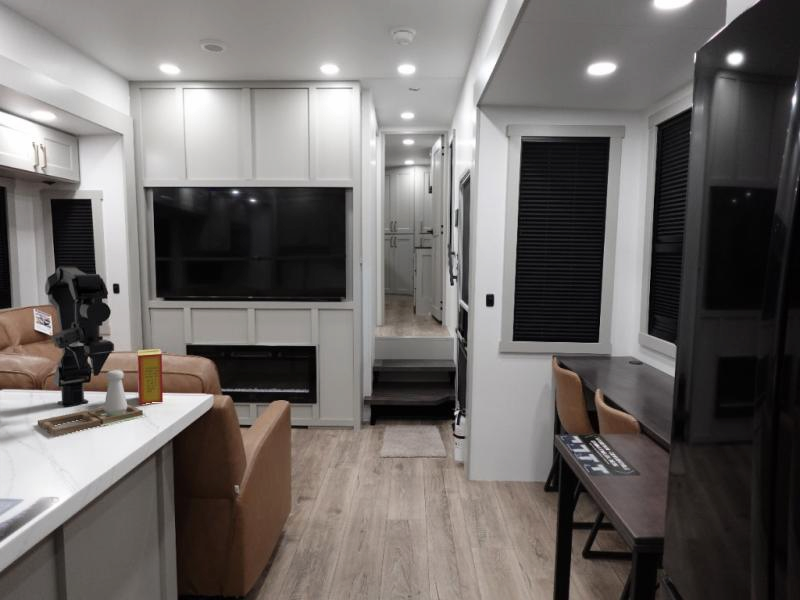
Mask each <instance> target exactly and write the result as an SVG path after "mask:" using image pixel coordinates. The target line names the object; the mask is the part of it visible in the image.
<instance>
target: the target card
mask: <svg viewBox="0 0 800 600" xmlns="http://www.w3.org/2000/svg"><path fill="white" fill-rule="evenodd" d="M125 413H129V411H126V412H125ZM145 415H147V414H145V413H144V412H143V415H141V416H137V417H133V418H128V419H124V420H120V421H116V422H111V423H107V424H101V425H100V426H103V427H105V426H104V425H107V426H110V425H109V424H111V425H114V424H113V423H116V424H119V423H118V422H120V423H123V422H122V421H124V422H127V421H126V420H128V421H131V419H132V420H135V419H134V418H137V419H139V418H138V417H141V418H143V417H142V416H145ZM102 416H104V417H106V418H107V417H108V416H107V415H106V414H102ZM145 417H146V416H145ZM100 426H99V427H100Z"/></svg>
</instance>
